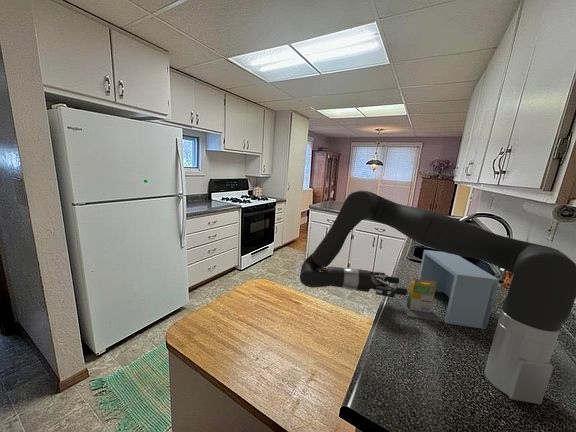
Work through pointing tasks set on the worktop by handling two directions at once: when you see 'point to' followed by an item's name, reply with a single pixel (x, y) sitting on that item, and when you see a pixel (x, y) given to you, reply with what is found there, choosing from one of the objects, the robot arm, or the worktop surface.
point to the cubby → (461, 287)
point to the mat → (419, 313)
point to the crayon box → (421, 295)
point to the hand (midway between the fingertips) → (402, 286)
